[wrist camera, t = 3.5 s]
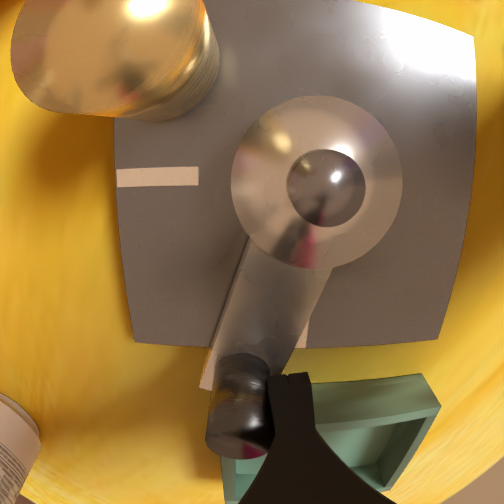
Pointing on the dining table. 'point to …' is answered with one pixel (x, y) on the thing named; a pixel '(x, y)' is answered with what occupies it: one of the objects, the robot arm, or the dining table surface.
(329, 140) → the crank
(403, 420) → the tray
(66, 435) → the dining table surface
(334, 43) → the crank base
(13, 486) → the energy drink can
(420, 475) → the dining table surface
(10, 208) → the dining table surface
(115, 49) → the pin
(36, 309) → the dining table surface
